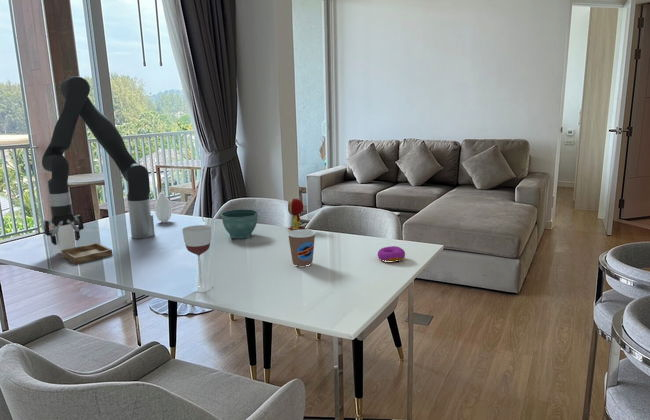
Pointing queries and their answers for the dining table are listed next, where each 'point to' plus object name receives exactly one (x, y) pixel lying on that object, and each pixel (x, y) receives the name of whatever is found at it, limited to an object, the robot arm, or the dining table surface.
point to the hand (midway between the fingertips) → (66, 242)
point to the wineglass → (197, 242)
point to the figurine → (295, 213)
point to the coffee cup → (302, 246)
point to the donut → (391, 253)
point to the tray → (86, 253)
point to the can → (65, 237)
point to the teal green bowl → (239, 222)
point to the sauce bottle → (163, 208)
